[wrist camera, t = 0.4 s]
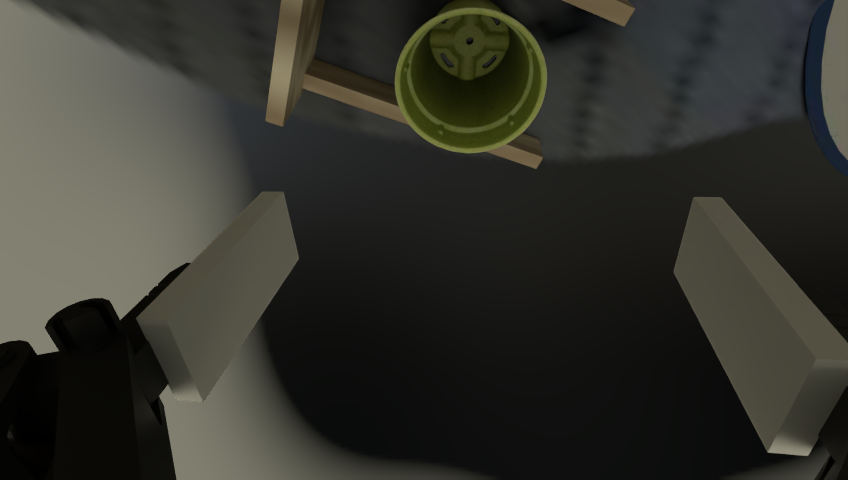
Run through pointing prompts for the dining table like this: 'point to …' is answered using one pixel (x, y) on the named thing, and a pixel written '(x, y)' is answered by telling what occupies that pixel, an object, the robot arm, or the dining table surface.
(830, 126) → the sun hat
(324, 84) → the notch rack
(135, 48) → the dining table surface
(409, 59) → the plant pot
